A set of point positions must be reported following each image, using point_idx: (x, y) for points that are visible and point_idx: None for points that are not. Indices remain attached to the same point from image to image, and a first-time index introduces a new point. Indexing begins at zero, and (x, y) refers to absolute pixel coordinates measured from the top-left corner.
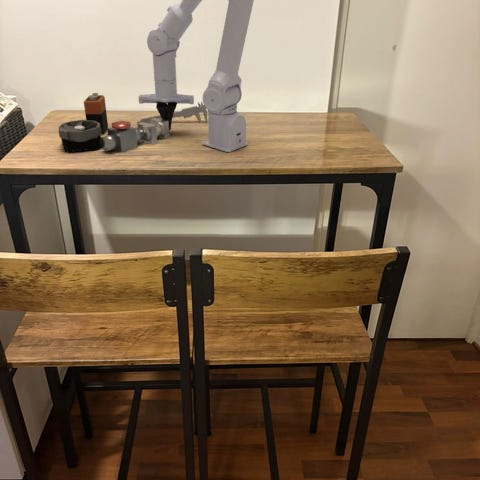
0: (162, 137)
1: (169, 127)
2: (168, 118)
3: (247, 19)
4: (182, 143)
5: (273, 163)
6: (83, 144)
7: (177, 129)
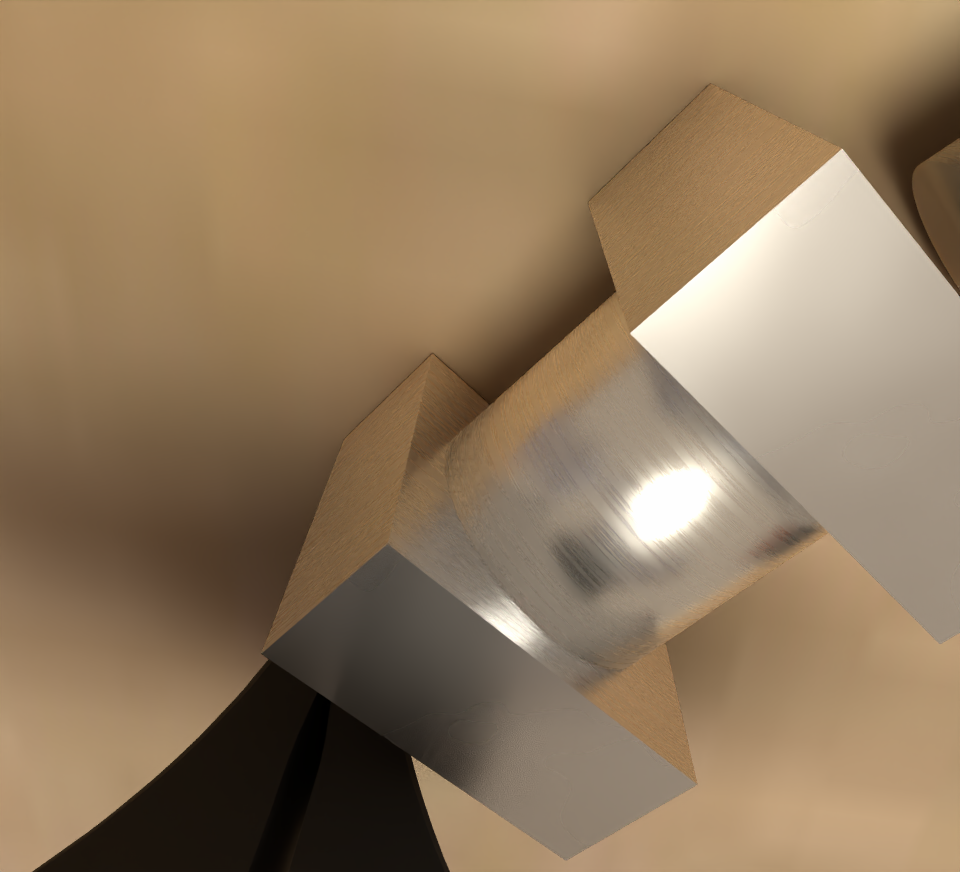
0: (465, 393)
1: None
2: (261, 764)
3: None
4: (63, 40)
5: None
6: None
7: None
